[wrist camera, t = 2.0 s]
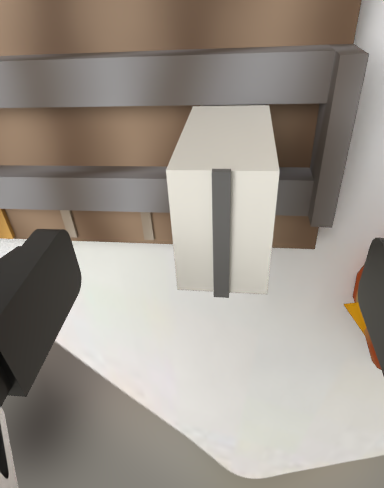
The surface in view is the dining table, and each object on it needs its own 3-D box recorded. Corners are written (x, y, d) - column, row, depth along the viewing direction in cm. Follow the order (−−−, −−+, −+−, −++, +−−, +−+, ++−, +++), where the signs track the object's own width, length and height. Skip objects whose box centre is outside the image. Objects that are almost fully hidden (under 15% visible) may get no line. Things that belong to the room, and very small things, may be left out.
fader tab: (266, 85, 17) (280, 172, 9) (259, 176, 19) (267, 299, 12) (200, 86, 17) (164, 171, 10) (203, 175, 20) (176, 295, 12)
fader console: (358, -51, 15) (393, -60, 11) (310, 230, 23) (321, 276, 20) (-183, -16, 18) (-288, -13, 15) (-58, 219, 27) (-106, 257, 23)
